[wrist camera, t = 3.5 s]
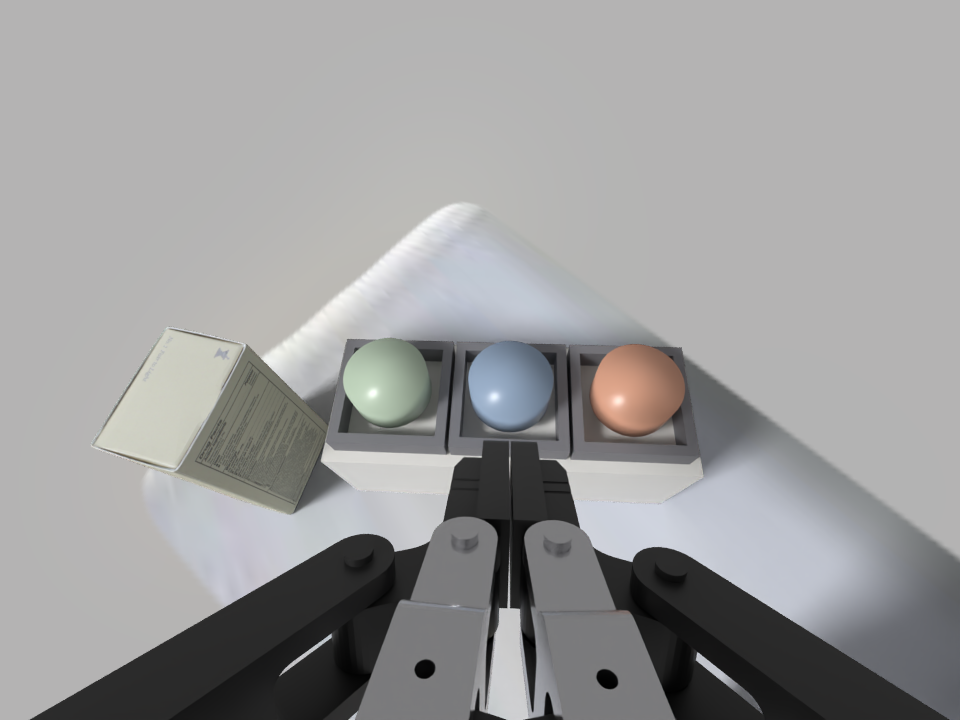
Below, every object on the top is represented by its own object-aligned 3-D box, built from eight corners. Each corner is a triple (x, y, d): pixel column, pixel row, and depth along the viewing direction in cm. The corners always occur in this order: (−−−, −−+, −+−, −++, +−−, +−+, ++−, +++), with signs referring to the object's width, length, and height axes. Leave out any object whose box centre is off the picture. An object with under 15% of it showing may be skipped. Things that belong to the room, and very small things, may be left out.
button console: (646, 399, 32) (691, 338, 25) (659, 504, 29) (715, 469, 21) (374, 390, 33) (338, 329, 26) (358, 490, 30) (311, 453, 22)
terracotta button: (665, 364, 24) (678, 345, 22) (676, 438, 22) (691, 424, 20) (587, 361, 24) (594, 343, 23) (591, 435, 22) (599, 421, 21)
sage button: (435, 357, 25) (430, 339, 23) (427, 429, 23) (421, 415, 21) (361, 355, 25) (351, 337, 23) (348, 426, 23) (335, 411, 21)
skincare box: (276, 413, 33) (166, 319, 22) (334, 427, 32) (250, 339, 21) (232, 502, 30) (81, 445, 19) (294, 520, 29) (174, 472, 18)
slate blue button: (548, 360, 24) (552, 342, 23) (550, 433, 23) (554, 419, 21) (473, 358, 25) (470, 339, 23) (468, 430, 23) (465, 416, 21)
